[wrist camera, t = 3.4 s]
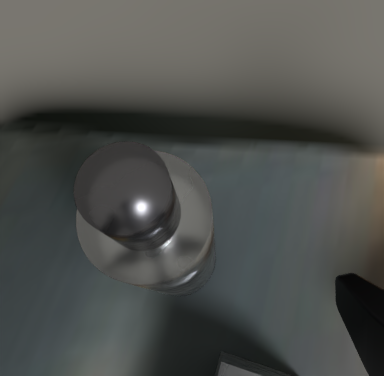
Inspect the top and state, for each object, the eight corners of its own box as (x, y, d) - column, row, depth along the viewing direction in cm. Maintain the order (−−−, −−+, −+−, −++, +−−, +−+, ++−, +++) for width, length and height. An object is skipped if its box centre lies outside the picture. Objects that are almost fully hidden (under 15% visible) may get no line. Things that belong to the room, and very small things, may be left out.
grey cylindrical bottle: (182, 312, 19) (124, 318, 7) (126, 262, 20) (-1, 198, 8) (230, 252, 19) (246, 172, 8) (174, 207, 20) (119, 79, 9)
